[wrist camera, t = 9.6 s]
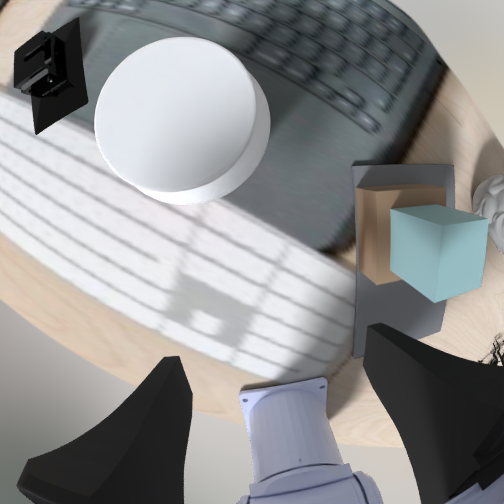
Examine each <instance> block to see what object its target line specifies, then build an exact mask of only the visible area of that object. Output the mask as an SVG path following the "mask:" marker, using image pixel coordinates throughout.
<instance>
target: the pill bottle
mask: <svg viewBox="0 0 504 504" xmlns="http://www.w3.org/2000/svg"><path fill="white" fill-rule="evenodd" d="M270 124H271V120H270V111H269V106H268V103H267V100H266V97H265V94H264V92H263V90H262V88H261V86H260V85H259V84H258V82H257V81H256V79H255V78H254V77H253V76H252V75H251V74H250V73H249V72H248V71H247V70H246V68H245V66H244V65H243V64H242V63H241V61H240V60H239V59H238V58H237V57H236V56H235V55H233V54H232V53H231V52H230V51H228V50H227V49H225V48H223V47H222V46H220V45H218V44H216V43H214V42H211V41H208V40H205V39H201V38H194V37H174V38H167V39H162V40H159V41H156V42H153V43H151V44H148V45H146V46H144V47H142V48H140V49H138V50H137V51H135V52H134V53H132V54H131V55H130V56H128V57H127V58H126V59H125V60H124V61H122V62H121V63H120V64H119V65H118V66H117V68H116V69H115V70H114V71H113V72H112V74H111V75H110V76H109V78H108V79H107V81H106V83H105V85H104V87H103V89H102V91H101V93H100V96H99V99H98V102H97V106H96V110H95V136H96V140H97V144H98V147H99V149H100V152H101V154H102V156H103V158H104V159H105V161H106V162H107V164H108V165H109V166H110V168H111V169H112V170H113V171H114V172H115V173H116V174H117V175H118V176H119V177H121V178H122V179H123V180H125V181H127V182H128V183H130V184H132V185H134V186H135V187H136V188H138V189H139V190H140V191H142V192H143V193H144V194H146V195H148V196H150V197H152V198H154V199H157V200H159V201H162V202H166V203H170V204H176V205H196V204H202V203H206V202H210V201H213V200H216V199H218V198H221V197H223V196H225V195H226V194H228V193H230V192H232V191H233V190H235V189H236V188H237V187H239V186H240V185H241V184H242V183H243V182H245V181H246V180H247V179H248V177H249V176H250V175H251V174H252V173H253V172H254V170H255V169H256V168H257V166H258V164H259V163H260V161H261V159H262V157H263V155H264V152H265V150H266V147H267V144H268V140H269V135H270Z"/></svg>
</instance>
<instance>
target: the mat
mask: <svg viewBox="0 0 504 504" xmlns="http://www.w3.org/2000/svg"><path fill="white" fill-rule="evenodd" d="M351 167H352V178H353V190H354V204H355V223H356V266H357V271H356V314H355V333H354V347H353V357H354V359H355V358H359V357H363V356H364V353H365V344H366V333H367V326H368V325H372V324H376V323H380V322H381V323H384V324H386V325H388V326H390V327H392V328H394V329H396V330H398V331H400V332H402V333H404V334H406V335H408V336H410V337H412V338H414V339H416V340H418V339H421V338H423V337H426V336H429V335H432V334H434V333H437V332H439V331H440V330H441V326H442V321H443V316H444V311H445V306H446V300H447V299H445V300H442V301H439V302H436V303H434V302H432V301H431V300H430V299H428V298H427V297H426V296H424V295H423V294H422V293H420V292H419V291H418V290H416V289H415V288H414V287H412V286H411V285H410V284H408V283H407V282H406V281H404V280H403V279H402V280H398V281H394V282H389V283H385V284H380V285H376V284H375V283H374V282H372V281H371V280H370V279H369V278H368V277H367V276H365V275H364V274H363V273H362V272H361V271H360V270H359V250H358V218H357V200H356V188H360V187H373V186H387V185H404V184H428V185H434V186H441V187H446V207H449V208H453V209H455V177H454V165H442V164H396V165H366V166H351Z"/></svg>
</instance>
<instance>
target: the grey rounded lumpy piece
mask: <svg viewBox="0 0 504 504" xmlns="http://www.w3.org/2000/svg"><path fill="white" fill-rule="evenodd" d="M472 205H473V213H474V215H478V216H481V217H484V218H488V219H489V220H488V233H489V235H490V236H491V239H492V241H493V242H494V243H495V245H496V246H497V249H498V250H499V251H500V252H502V253H504V175H501V174H500V175H492V176H490V177H489V178H488V179H487V180H485V181H483V182H482V183H481V184H480V185H479V186H478V187H477V189H476V190H475V193H474V196H473V202H472Z"/></svg>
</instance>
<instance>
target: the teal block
mask: <svg viewBox="0 0 504 504" xmlns="http://www.w3.org/2000/svg"><path fill="white" fill-rule="evenodd" d="M390 216H391V253H390V271H392V272H393V273H395V274H396V275H397V276H399V277H400V278H401V279H403V280H404V281H406V282H407V283H408V284H410V285H411V286H412V287H414V288H415V289H416V290H418V291H419V292H420V293H422V294H423V295H424V296H426V297H427V298H428V299H430V300H431V301H432V302H434V303H436V302H439V301H442V300H445V299H448V298H451V297H454V296H457V295H460V294H463V293H465V292H468V291H471V290H474V289H476V288H479V287H481V282H482V276H483V269H484V262H485V255H486V246H487V235H488V220H489V219H488V218H484V217H481V216H478V215H474V214H471V213H467V212H464V211H460V210H456V209H453V208H449V207H445V206H441V205H437V204H435V205H424V206H414V207H404V208H394V209H390Z"/></svg>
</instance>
